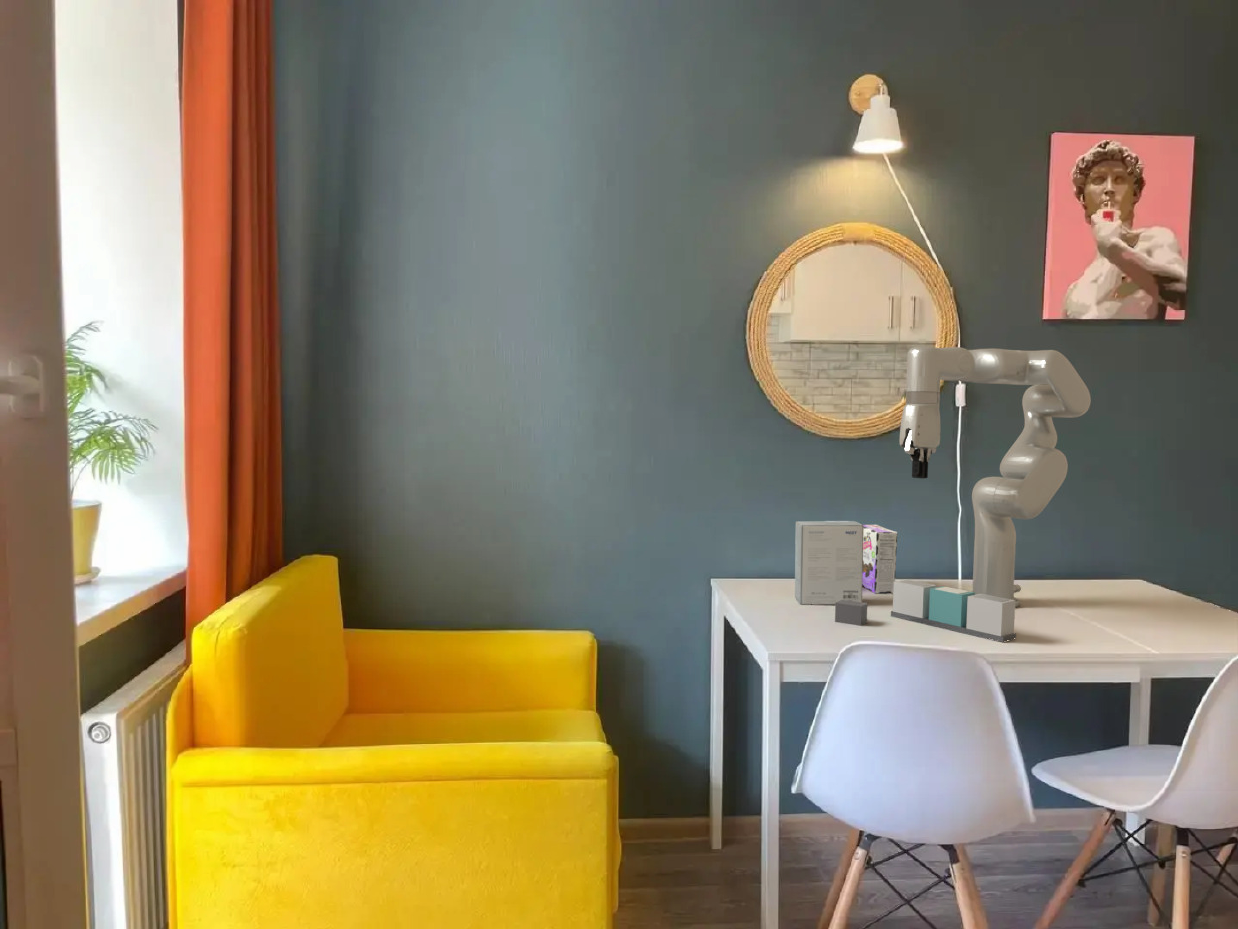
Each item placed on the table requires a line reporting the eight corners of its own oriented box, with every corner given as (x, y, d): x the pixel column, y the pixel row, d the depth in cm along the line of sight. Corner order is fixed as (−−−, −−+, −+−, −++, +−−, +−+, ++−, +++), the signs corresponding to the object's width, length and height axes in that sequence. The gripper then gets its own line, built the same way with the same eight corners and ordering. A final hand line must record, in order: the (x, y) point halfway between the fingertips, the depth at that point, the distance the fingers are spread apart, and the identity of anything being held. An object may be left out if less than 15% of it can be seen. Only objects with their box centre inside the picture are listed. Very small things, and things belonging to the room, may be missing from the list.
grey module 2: (966, 628, 197) (967, 596, 197) (979, 625, 200) (980, 593, 200) (1000, 636, 191) (1002, 602, 190) (1013, 633, 194) (1015, 600, 193)
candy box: (855, 583, 251) (857, 524, 250) (875, 583, 252) (877, 524, 251) (874, 594, 238) (876, 531, 237) (896, 593, 238) (898, 531, 237)
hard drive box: (854, 599, 231) (857, 520, 230) (862, 605, 224) (865, 525, 222) (793, 598, 231) (795, 520, 230) (799, 605, 224) (801, 524, 222)
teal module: (942, 616, 208) (943, 585, 207) (973, 623, 202) (975, 592, 201) (928, 619, 205) (929, 588, 204) (960, 626, 199) (961, 594, 198)
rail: (890, 616, 213) (890, 611, 213) (903, 613, 216) (904, 608, 216) (1002, 642, 191) (1003, 636, 190) (1015, 639, 194) (1016, 633, 193)
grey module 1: (892, 611, 212) (893, 581, 212) (905, 608, 215) (906, 579, 215) (922, 618, 206) (923, 587, 206) (935, 615, 209) (936, 584, 208)
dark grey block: (841, 619, 210) (841, 599, 210) (866, 622, 207) (867, 603, 206) (834, 622, 207) (835, 602, 206) (860, 626, 203) (861, 606, 203)
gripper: (927, 400, 221) (924, 475, 223) (889, 399, 213) (886, 478, 214) (955, 400, 216) (952, 477, 217) (917, 399, 207) (914, 480, 208)
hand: (919, 477), depth 215 cm, fingers closed
